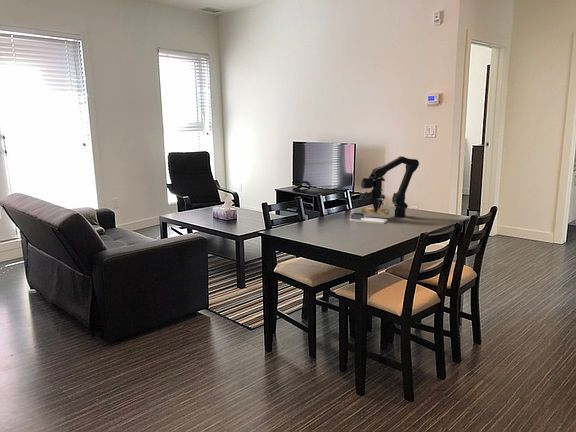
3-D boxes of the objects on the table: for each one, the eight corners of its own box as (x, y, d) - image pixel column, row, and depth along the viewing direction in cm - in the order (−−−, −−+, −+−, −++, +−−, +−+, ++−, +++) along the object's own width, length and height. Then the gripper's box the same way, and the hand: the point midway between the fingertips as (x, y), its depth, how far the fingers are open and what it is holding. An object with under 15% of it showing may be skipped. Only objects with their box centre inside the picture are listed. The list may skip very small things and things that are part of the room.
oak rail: (389, 213, 302) (389, 209, 302) (387, 214, 299) (387, 210, 298) (363, 211, 311) (363, 207, 310) (361, 212, 308) (361, 208, 307)
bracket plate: (387, 221, 294) (387, 214, 294) (383, 223, 287) (383, 217, 286) (354, 218, 304) (354, 212, 303) (349, 221, 296) (349, 214, 296)
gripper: (369, 185, 313) (369, 208, 316) (360, 189, 297) (360, 213, 300) (385, 186, 308) (385, 209, 311) (377, 190, 292) (377, 214, 295)
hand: (376, 211), depth 304 cm, fingers closed on oak rail, 4 cm apart
